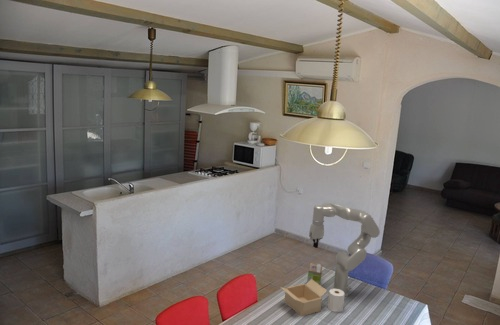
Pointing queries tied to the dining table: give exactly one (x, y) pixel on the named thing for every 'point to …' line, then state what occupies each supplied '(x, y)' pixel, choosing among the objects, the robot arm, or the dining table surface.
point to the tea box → (315, 273)
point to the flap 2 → (316, 287)
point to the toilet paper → (336, 300)
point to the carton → (303, 300)
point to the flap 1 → (290, 294)
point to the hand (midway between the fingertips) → (315, 247)
